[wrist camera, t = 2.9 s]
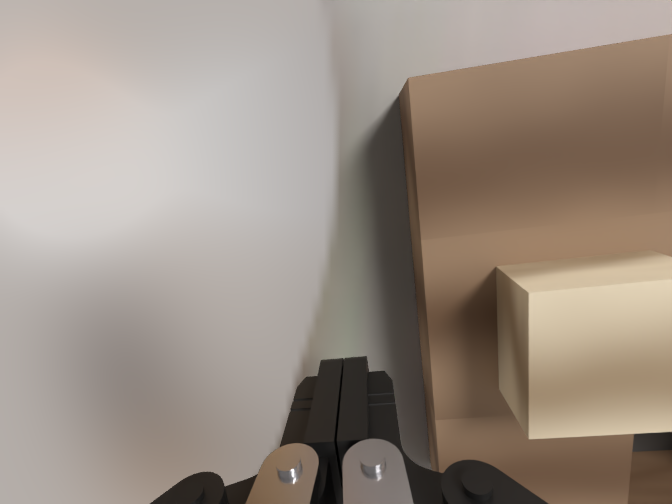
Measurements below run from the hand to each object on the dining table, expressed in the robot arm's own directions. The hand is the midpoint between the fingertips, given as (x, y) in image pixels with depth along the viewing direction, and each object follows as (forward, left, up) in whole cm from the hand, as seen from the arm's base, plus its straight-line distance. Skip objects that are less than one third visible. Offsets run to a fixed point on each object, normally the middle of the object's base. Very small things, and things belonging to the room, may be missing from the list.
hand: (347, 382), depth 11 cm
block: (0, +8, -2) cm, 8 cm away
